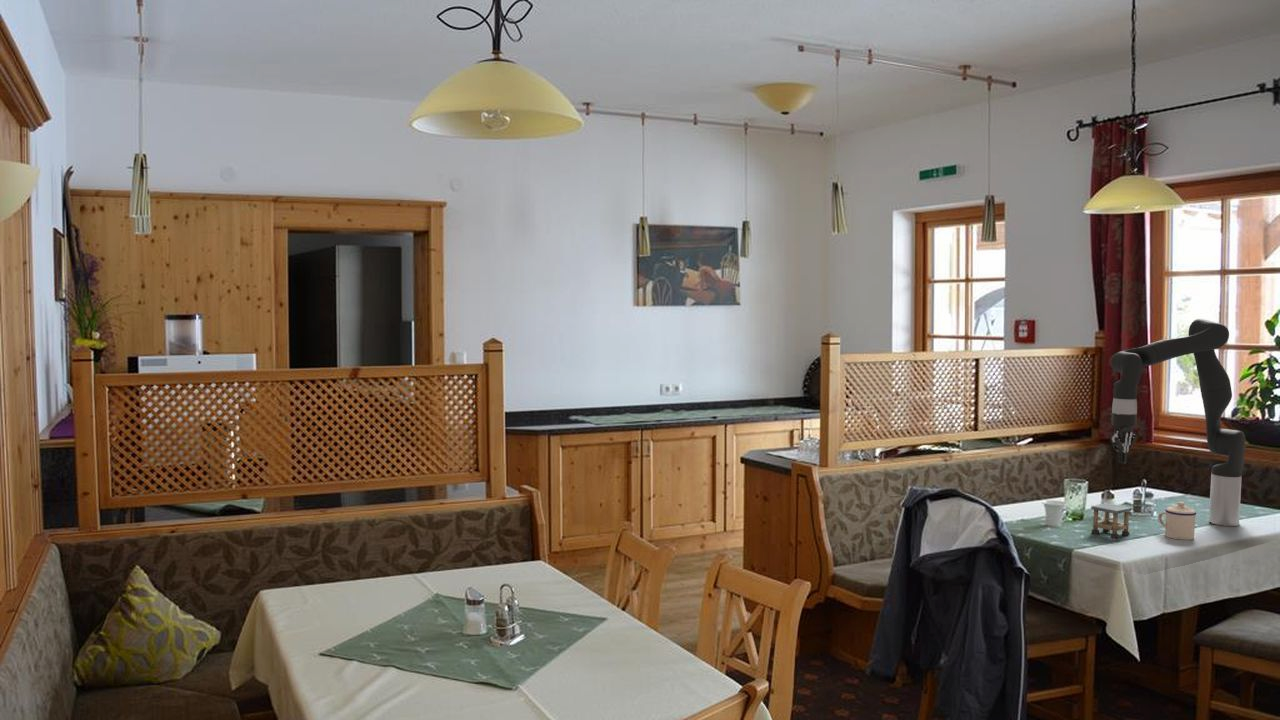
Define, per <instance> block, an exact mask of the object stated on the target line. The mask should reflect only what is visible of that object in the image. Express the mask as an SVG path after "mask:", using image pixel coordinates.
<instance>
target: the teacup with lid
mask: <svg viewBox="0 0 1280 720" xmlns="http://www.w3.org/2000/svg"><path fill="white" fill-rule="evenodd" d="M1163 515H1165V522H1164V521H1163V520H1162V519H1163V518H1162V516H1163ZM1196 515H1197V511H1196V510H1195V509H1193V508H1191V507H1189V506H1187V505H1185V502H1183V501H1177V504H1174V505H1171V506H1168V507H1166V508H1165V510H1164V511H1160V513H1159V514H1158V516H1157V519H1158V522H1159V524H1160V525H1161V526H1163V528H1164V535H1165V536H1166V537H1167V538H1170V539H1173V538H1174V539H1175V540H1180V539H1181V540H1182V541H1183V540H1184V541H1188V540H1189V541H1190V540H1193V539H1194V538H1195V531H1196V529H1195V526H1196ZM1181 540H1180V541H1181Z"/></svg>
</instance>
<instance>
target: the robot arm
mask: <svg viewBox="0 0 1280 720" xmlns="http://www.w3.org/2000/svg"><path fill="white" fill-rule="evenodd" d="M1229 337H1230V331H1229V329H1228V327H1227V325H1225V324H1222V323H1220V322H1217V321H1214V320H1210V319H1207V318H1196V319H1195V320H1193V321H1192V322H1191V323H1190V325H1189V328H1188V336H1182V337H1175V338H1165V339H1160V340H1158V341H1157V340H1156V341H1153V342H1151V343H1149V344H1146V345H1143V346H1140V347H1134V348H1129V349H1125V350H1124V349H1123V350H1121V351H1118V352H1116V353H1114V354H1113V355H1112V357H1111V359H1110V361H1109V362H1110V363H1109V364H1110V367H1111V369H1112V370H1113V371H1114V372H1117V373H1120V374H1121V377H1120V380H1117V381H1115V382H1114V385H1113V399H1112V405H1111V425H1112V426H1114V432H1113V436H1109V442H1110V443H1111V445H1112V448H1113V450H1114V451H1116V452H1117V453H1118V454H1117V455H1118V456H1117V462H1118V464H1122V465H1123V464H1127V463H1128V462H1127V461H1128V452H1129V451H1132V448H1133V446H1134V443H1135V442H1136V440H1137V437H1138V435H1137V434H1134V433H1133V432H1134V429H1133V428H1136V426H1137V418H1138V417H1137V416H1138V402H1137V401H1138V400H1137V397H1138V396H1137V395H1138V385H1139V383H1140V379H1141V376H1142V372H1143V367H1150V366H1154V365H1157V364H1159V363H1163V362H1166V361H1168V360H1172V359H1176V358H1179V357H1181V356H1182V357H1183V356H1187V355H1190V354H1193V356H1194V357H1193V358H1194V361H1195V365H1196V370H1197V375H1198V380H1199V381H1198V383H1199V389H1200V394H1201V398H1202V400H1201V401H1202V404H1203V409H1204V411H1203V412H1204V416H1205V428H1206V441H1207V442H1206V443H1207V447H1208V449H1209V452H1210V453H1212V454H1214V455H1218V456H1225V457H1228V458H1227V461H1226V462H1224V463H1219V464H1215V465H1212V467H1211V470H1210V471H1211V472H1210V474H1211V475H1210V491H1209V492H1210V493H1209V494H1210V495H1209V513H1208V515H1209V516H1208V522H1209V523H1210V522H1211V524H1214V525H1218V526H1225V527H1235V526H1236V527H1238V526H1239V525H1240V514H1241V513H1240V512H1241V511H1240V510H1241V495H1242V492H1241V491H1242V476H1243V469H1244V464H1245V463H1244V462H1245V454H1246V443H1247V440H1246V436H1245V435H1246V434H1244V432H1243V431H1242V430H1237V429H1228V428H1222V425H1221V418H1222V416H1223V414H1224V412H1225V411H1226V409H1227V407H1228V406H1229V405H1230V403H1231V401H1232V398H1233V392H1232V386H1231V385H1232V384H1231V381H1230V377H1229V375H1228V373H1227V371H1226V369H1225V368H1224V366H1223V365H1222V363H1221V361H1220V360H1219V358H1218V356H1217V354H1216V352H1215V350H1217V349H1220V348H1222V347H1223V346H1225V345H1226V344H1227V342H1228V341H1229V339H1230V338H1229Z"/></svg>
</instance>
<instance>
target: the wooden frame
mask: <svg viewBox="0 0 1280 720" xmlns="http://www.w3.org/2000/svg"><path fill="white" fill-rule="evenodd" d="M1090 509H1091V510H1093V518H1092V522H1093V524H1092V529H1091V534H1092V533H1093V535H1099V533H1100V530H1099V529H1102V531H1103V532H1106V531H1109V532H1111V533H1110V538H1111V537H1112V538H1111V539H1119V534H1118V532H1119V531H1121V535H1122V536H1124V535H1127V536H1128V535H1129V536H1130V531H1129V524H1130V523H1129V518H1130V512H1132V511H1133V507H1128V506H1124V505H1119V504H1113V503H1108V502H1105V503H1100V504H1095V505H1091V507H1090ZM1099 511H1100V512H1104V519H1102V520H1099ZM1110 514H1112V520H1110ZM1119 514H1124V515H1123V522H1119V521H1118V519H1119V517H1118V515H1119ZM1127 536H1126V537H1127ZM1129 536H1128V537H1129Z"/></svg>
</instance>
